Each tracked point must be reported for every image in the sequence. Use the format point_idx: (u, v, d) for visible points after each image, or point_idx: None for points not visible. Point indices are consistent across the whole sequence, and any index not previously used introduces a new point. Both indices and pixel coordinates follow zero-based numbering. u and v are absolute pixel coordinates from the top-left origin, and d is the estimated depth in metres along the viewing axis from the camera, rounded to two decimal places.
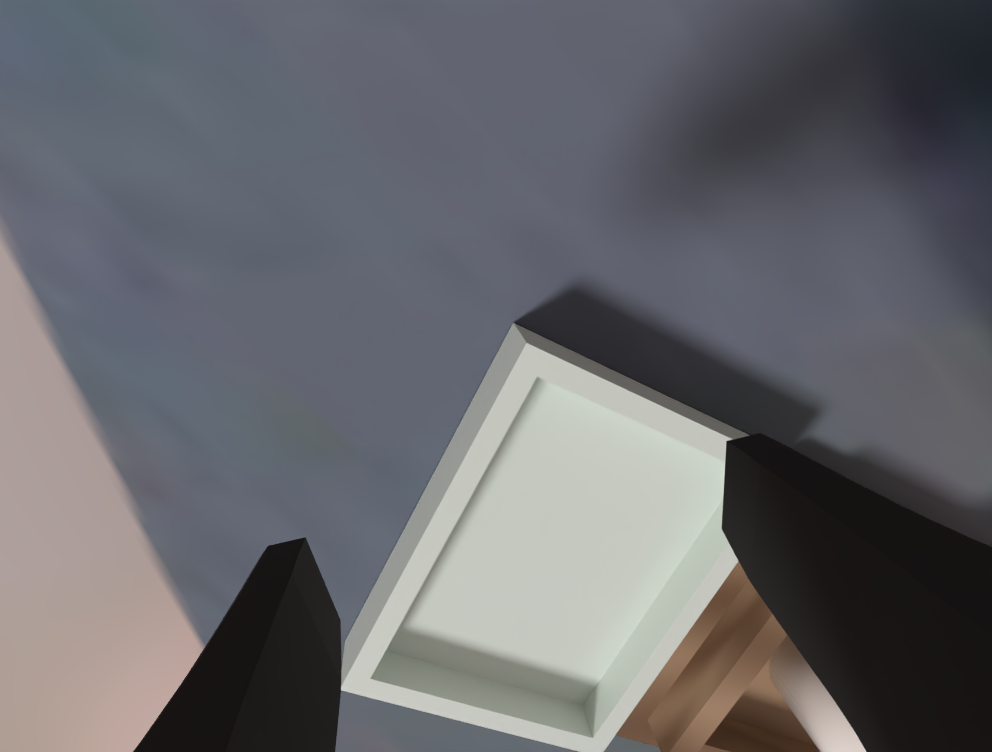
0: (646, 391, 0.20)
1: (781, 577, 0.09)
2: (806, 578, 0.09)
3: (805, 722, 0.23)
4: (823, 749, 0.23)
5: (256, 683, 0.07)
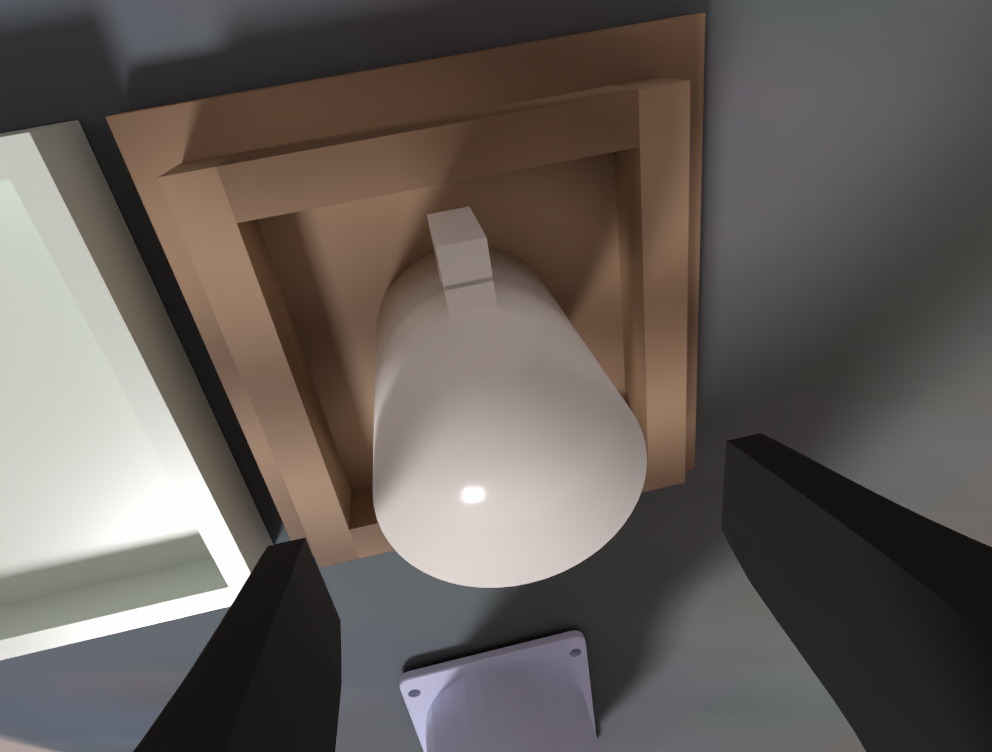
0: None
1: (781, 577, 0.09)
2: (806, 578, 0.09)
3: None
4: None
5: (256, 683, 0.07)
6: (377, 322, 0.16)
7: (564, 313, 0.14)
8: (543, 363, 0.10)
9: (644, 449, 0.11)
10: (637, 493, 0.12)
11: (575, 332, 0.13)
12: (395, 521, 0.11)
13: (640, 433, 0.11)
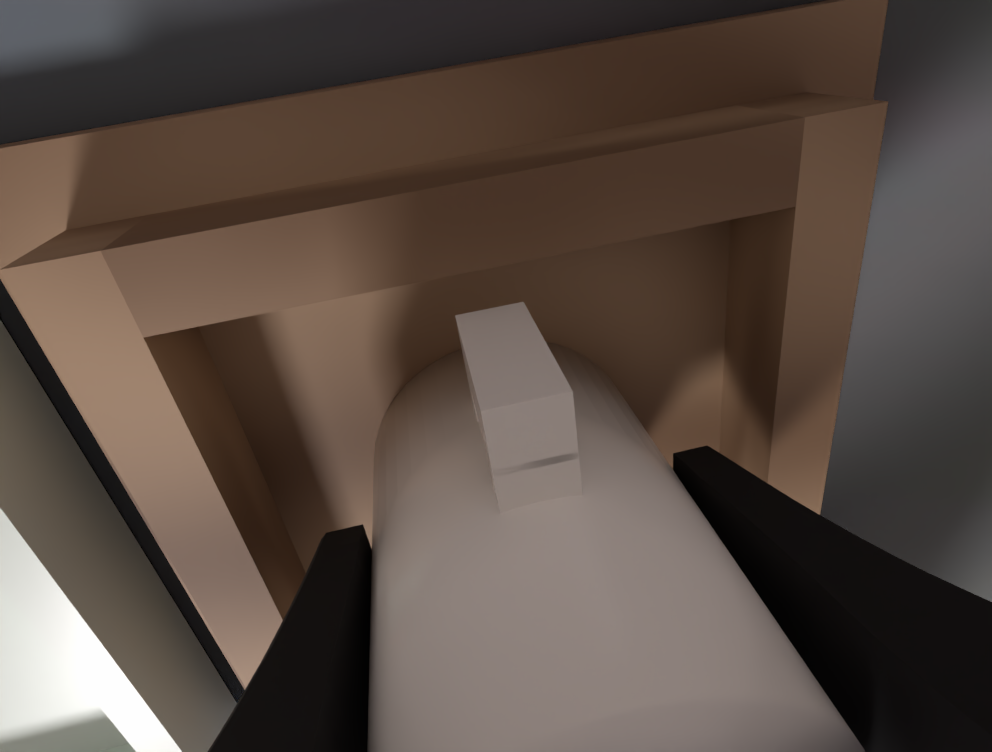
0: None
1: None
2: None
3: None
4: None
5: (335, 664, 0.07)
6: (376, 450, 0.11)
7: (667, 462, 0.09)
8: (714, 694, 0.05)
9: None
10: None
11: (703, 520, 0.08)
12: None
13: None
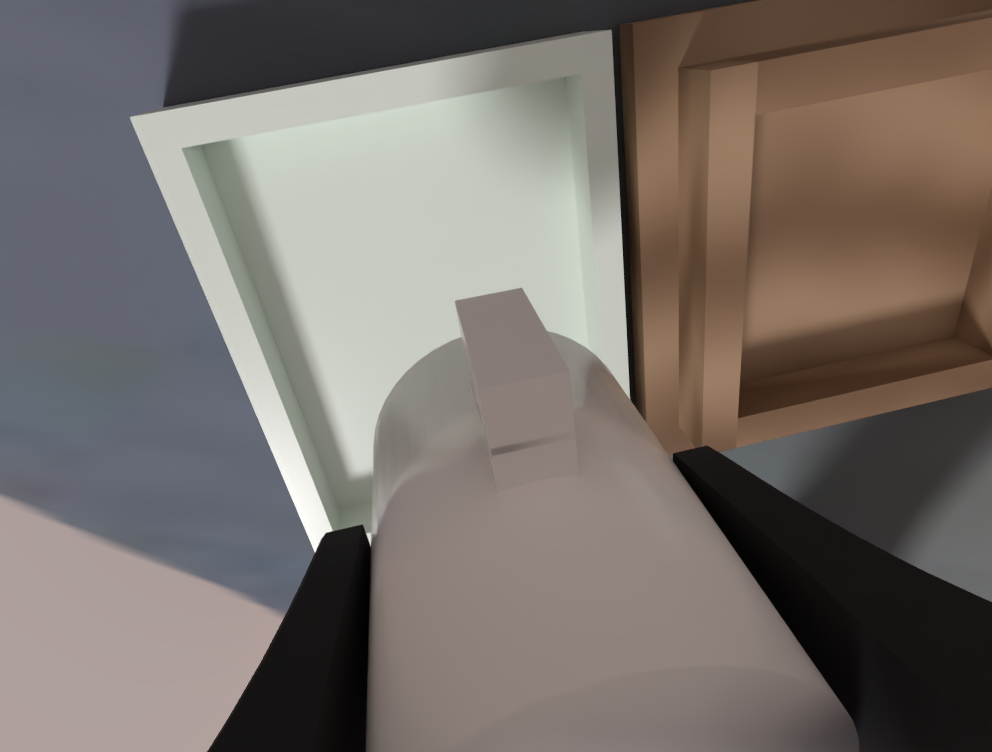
0: (356, 74, 0.15)
1: None
2: None
3: None
4: None
5: (334, 664, 0.07)
6: (375, 437, 0.11)
7: None
8: (704, 660, 0.05)
9: None
10: None
11: (698, 502, 0.08)
12: None
13: (854, 740, 0.06)
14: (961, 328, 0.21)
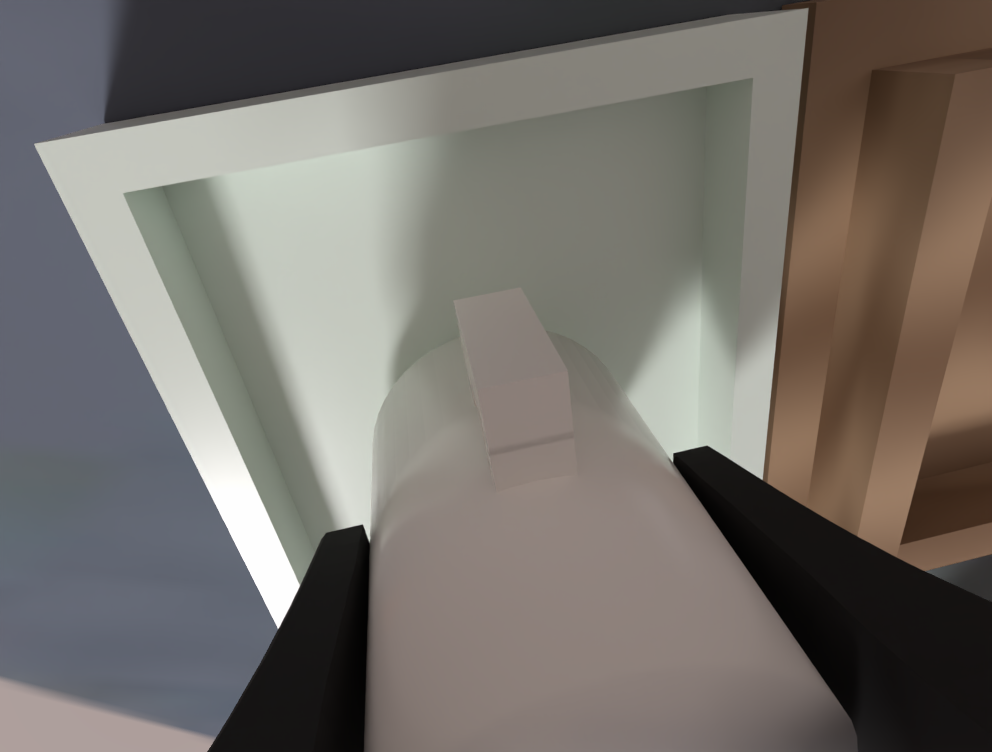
0: (400, 75, 0.10)
1: None
2: None
3: None
4: None
5: (335, 664, 0.07)
6: (374, 437, 0.11)
7: None
8: (703, 660, 0.05)
9: None
10: None
11: (697, 502, 0.08)
12: None
13: (852, 740, 0.06)
14: None
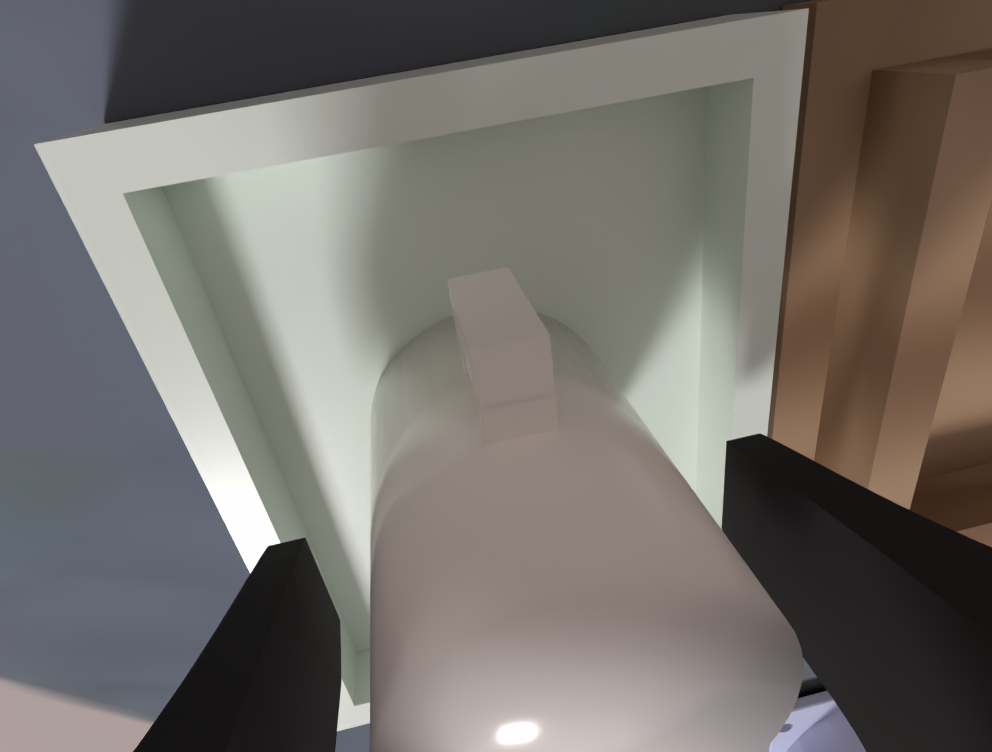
0: (400, 75, 0.10)
1: (781, 577, 0.09)
2: (806, 578, 0.09)
3: None
4: None
5: (256, 683, 0.07)
6: (373, 411, 0.12)
7: None
8: (663, 573, 0.06)
9: (800, 673, 0.07)
10: (777, 721, 0.08)
11: (667, 458, 0.09)
12: None
13: (798, 653, 0.07)
14: None
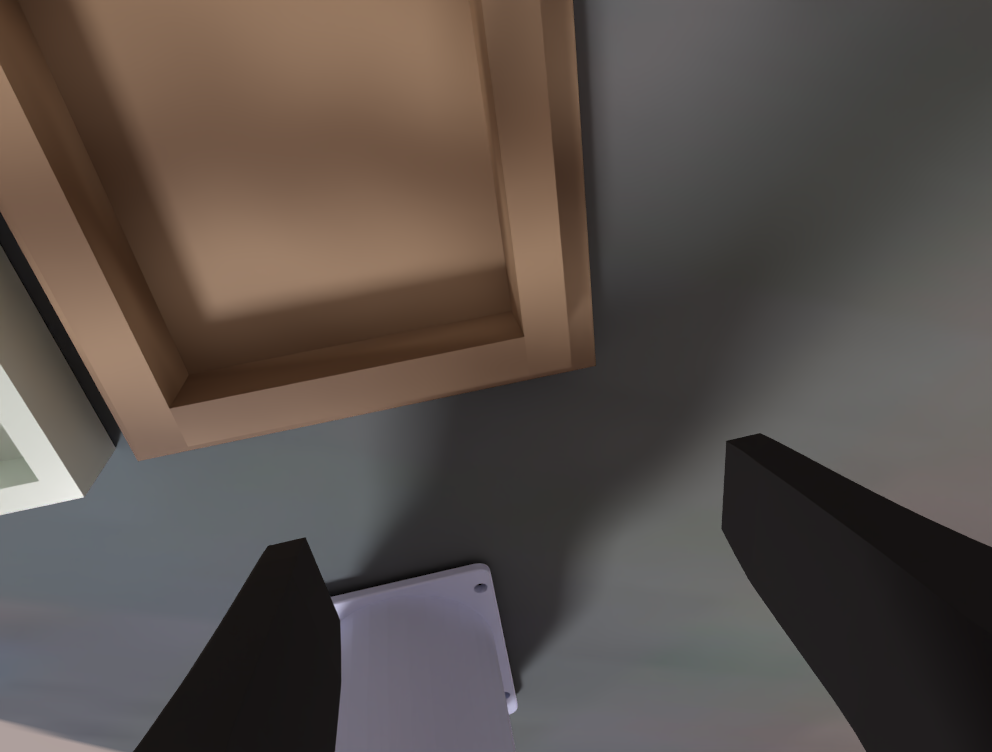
0: None
1: (781, 577, 0.09)
2: (806, 578, 0.09)
3: None
4: None
5: (256, 683, 0.07)
6: None
7: None
8: None
9: None
10: None
11: None
12: None
13: None
14: (510, 300, 0.17)
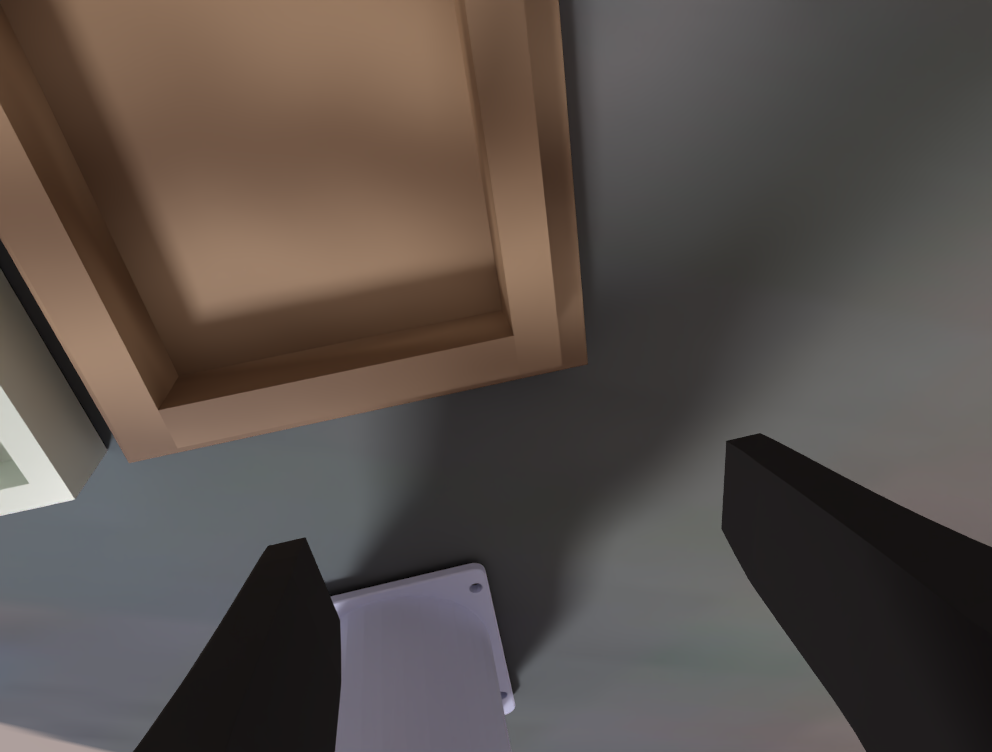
0: None
1: (781, 577, 0.09)
2: (806, 578, 0.09)
3: None
4: None
5: (256, 683, 0.07)
6: None
7: None
8: None
9: None
10: None
11: None
12: None
13: None
14: (500, 299, 0.17)
